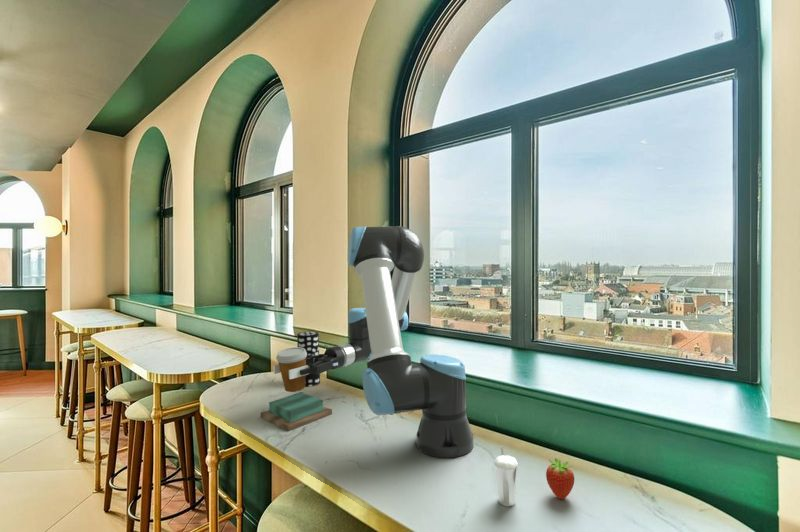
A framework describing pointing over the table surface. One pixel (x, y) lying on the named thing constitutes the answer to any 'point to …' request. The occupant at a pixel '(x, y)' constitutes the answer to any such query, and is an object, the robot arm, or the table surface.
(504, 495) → the milkshake
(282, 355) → the disposable coffee cup
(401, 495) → the table surface
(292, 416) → the display stand
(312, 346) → the white-spotted black cylinder
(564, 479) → the fruit
